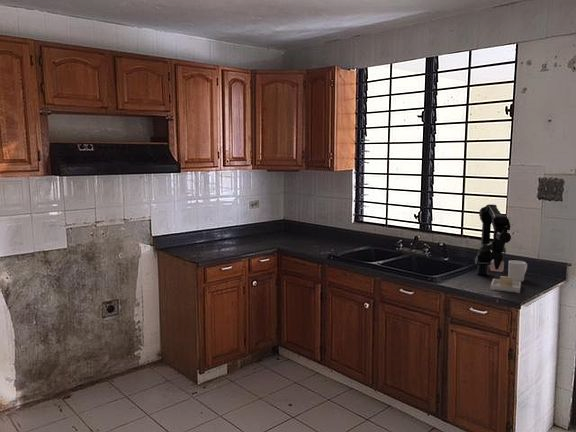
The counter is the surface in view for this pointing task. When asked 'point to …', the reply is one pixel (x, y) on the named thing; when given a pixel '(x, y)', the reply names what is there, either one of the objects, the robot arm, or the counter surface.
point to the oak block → (506, 281)
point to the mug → (517, 270)
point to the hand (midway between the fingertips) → (497, 268)
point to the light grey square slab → (514, 288)
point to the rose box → (498, 268)
